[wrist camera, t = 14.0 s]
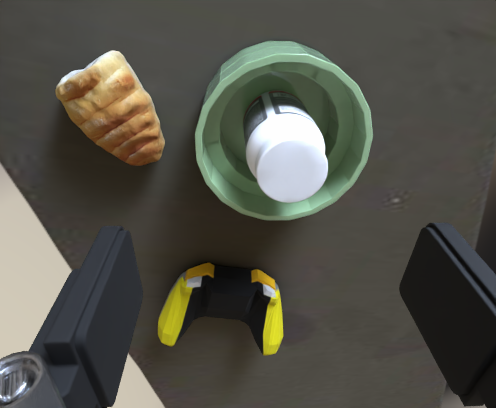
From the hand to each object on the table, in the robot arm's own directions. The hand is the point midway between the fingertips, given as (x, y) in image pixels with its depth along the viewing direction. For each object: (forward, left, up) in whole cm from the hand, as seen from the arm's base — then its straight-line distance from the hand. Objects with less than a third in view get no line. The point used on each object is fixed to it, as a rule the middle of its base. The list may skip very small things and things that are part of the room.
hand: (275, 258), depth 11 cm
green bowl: (+3, +2, -21) cm, 22 cm away
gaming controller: (+25, -2, -22) cm, 33 cm away
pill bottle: (+3, +2, -21) cm, 21 cm away
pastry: (+1, -11, -22) cm, 24 cm away
